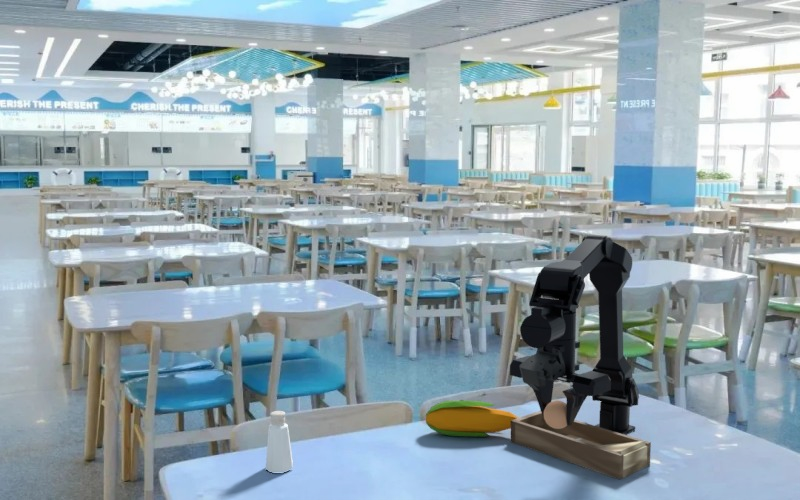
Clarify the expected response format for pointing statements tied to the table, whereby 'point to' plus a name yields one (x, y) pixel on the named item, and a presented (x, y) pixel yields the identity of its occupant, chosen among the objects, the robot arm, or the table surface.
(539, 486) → the table surface
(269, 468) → the pepper shaker
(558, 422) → the ball
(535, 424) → the brown wooden open box
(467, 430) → the corn
